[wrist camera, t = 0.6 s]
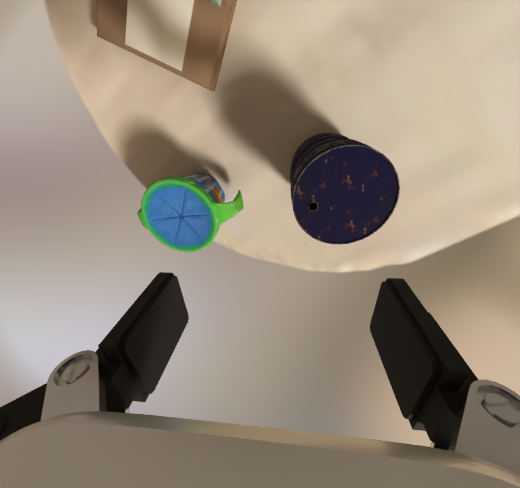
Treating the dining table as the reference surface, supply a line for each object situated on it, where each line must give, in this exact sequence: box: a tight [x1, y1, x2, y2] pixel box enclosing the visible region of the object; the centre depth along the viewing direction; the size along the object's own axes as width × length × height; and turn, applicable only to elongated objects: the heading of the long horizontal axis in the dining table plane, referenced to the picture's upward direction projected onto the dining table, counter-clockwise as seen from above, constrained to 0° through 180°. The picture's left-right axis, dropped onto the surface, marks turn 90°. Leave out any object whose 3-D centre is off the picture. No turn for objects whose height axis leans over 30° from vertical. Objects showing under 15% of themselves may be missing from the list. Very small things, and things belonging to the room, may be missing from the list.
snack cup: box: [137, 174, 243, 252], centre depth 34 cm, size 16×10×10 cm
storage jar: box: [290, 133, 400, 244], centre depth 27 cm, size 10×10×15 cm
